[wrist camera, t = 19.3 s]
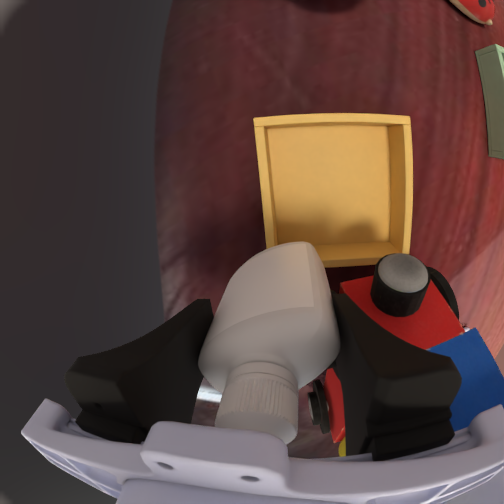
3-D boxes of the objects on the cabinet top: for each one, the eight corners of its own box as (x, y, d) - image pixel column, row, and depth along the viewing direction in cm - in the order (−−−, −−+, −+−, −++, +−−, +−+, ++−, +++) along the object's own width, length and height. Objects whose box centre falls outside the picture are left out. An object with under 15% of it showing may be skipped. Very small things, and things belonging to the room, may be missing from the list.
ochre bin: (393, 245, 21) (408, 262, 18) (271, 252, 23) (268, 270, 19) (391, 119, 17) (410, 116, 14) (258, 122, 19) (253, 117, 16)
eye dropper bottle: (226, 238, 16) (123, 411, 5) (325, 239, 15) (379, 432, 4) (232, 303, 18) (170, 479, 7) (320, 305, 17) (339, 493, 6)
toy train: (439, 222, 14) (571, 425, 3) (380, 374, 27) (418, 489, 15) (306, 245, 14) (406, 560, 3) (303, 395, 27) (330, 521, 15)
